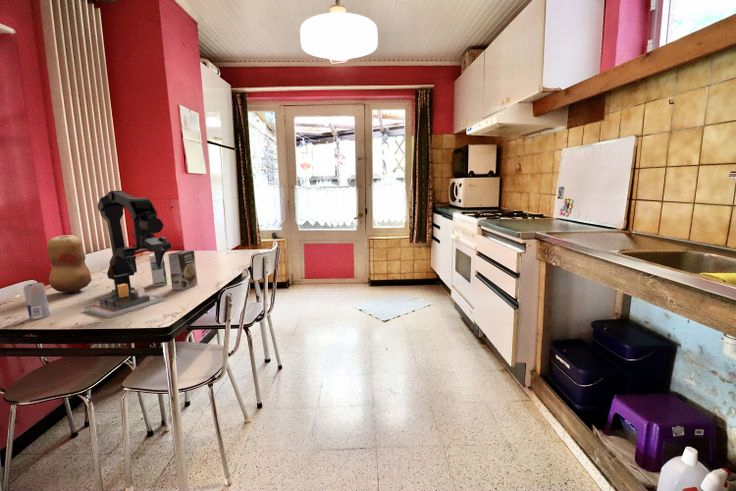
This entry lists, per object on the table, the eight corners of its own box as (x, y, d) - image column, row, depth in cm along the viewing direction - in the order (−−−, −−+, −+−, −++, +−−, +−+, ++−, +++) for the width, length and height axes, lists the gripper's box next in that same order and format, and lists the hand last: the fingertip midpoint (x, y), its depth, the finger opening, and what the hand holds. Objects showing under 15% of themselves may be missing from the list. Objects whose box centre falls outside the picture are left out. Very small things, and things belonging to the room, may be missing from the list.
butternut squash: (51, 299, 144) (40, 239, 139) (52, 292, 154) (41, 236, 149) (94, 292, 153) (84, 235, 148) (92, 285, 163) (83, 232, 158)
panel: (84, 311, 130) (81, 294, 129) (139, 295, 147) (137, 280, 146) (108, 318, 123) (105, 300, 121) (163, 300, 140) (161, 285, 139)
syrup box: (153, 286, 159) (148, 255, 157) (153, 283, 164) (149, 253, 162) (167, 284, 162) (163, 254, 159) (167, 281, 167) (164, 252, 164)
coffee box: (184, 290, 153) (180, 254, 150) (171, 289, 154) (167, 254, 151) (198, 284, 162) (194, 250, 159) (186, 283, 163) (182, 249, 160)
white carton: (38, 314, 127) (31, 282, 125) (54, 313, 128) (48, 282, 125) (25, 320, 122) (18, 287, 120) (41, 319, 122) (35, 286, 120)
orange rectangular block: (118, 296, 134) (116, 285, 133) (125, 294, 136) (124, 283, 135) (122, 297, 133) (120, 286, 132) (129, 295, 135) (127, 284, 134)
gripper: (130, 236, 124) (135, 278, 127) (178, 229, 141) (182, 266, 144) (112, 233, 129) (117, 274, 132) (160, 227, 146) (164, 263, 149)
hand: (147, 269), depth 139 cm, fingers open, 9 cm apart
